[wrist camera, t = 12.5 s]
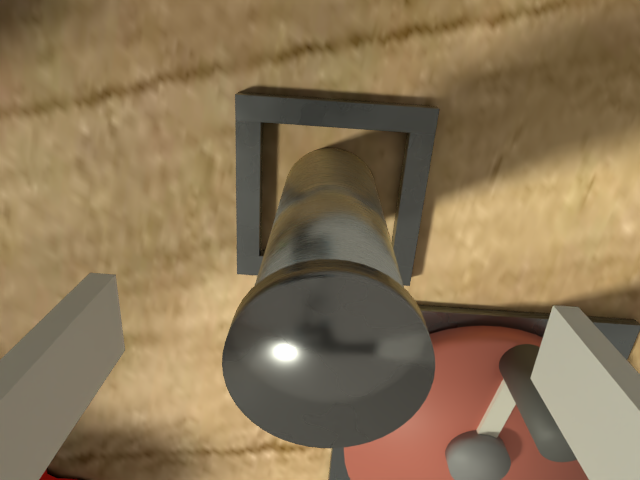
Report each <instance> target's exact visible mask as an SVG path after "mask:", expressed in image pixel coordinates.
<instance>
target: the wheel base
mask: <svg viewBox="0 0 640 480" xmlns="http://www.w3.org/2000/svg"><path fill="white" fill-rule="evenodd" d="M418 307H419V308H420V310H421V312H422V315H423V317H424V320H425V323H426V326H427V329H428V332H429V334H432V333H436V332H439V331H443V330H447V329H453V328H459V327H467V326H501V327H507V328H513V329H519V330H522V331H526V332H529V333H533V334H536V335H538V336H540V337H543V336H544V333H545V330H546V326H547V323H548V320H549V317H550V314H544V313H529V312H515V311H500V310H485V309H470V308H456V307H441V306H426V305H418ZM587 317H588V316H587ZM588 318H589V319H590V320H591V321H592V322H593V324H594V325H595V326H596V327H597V328H598V329H599V330H600V331H601V332H602V333H603V335H604V336H605V337H606V338H607V339H608V340H609V341H610V342H611V343H612V344H613V346H614V347H615V348H616V349H617V350H618V351H619V352H620V353H621V354H622V356H623V357H624V358H625V359H626V360H627V359H628V356H629V354H630V352H631V349H632V347H633V345H634V342H635V340H636V337H637V335H638V333H639V330H640V324H639V323H638V322H637V321H636V320H633V319H618V318H603V317H588ZM328 480H350V478H349V476H348V473H347V469H346V465H345V458H344V447H343V448H332V451H331V460H330V470H329V479H328Z"/></svg>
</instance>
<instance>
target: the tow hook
mask: <svg viewBox="0 0 640 480" xmlns="http://www.w3.org/2000/svg"><path fill="white" fill-rule="evenodd" d="M39 480H77V479H63V478H59V479H58V478H55V477H53V476H51V475H48V474H47V470H45V472H44V473H43V475H42V476H41V478H40V479H39Z"/></svg>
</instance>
